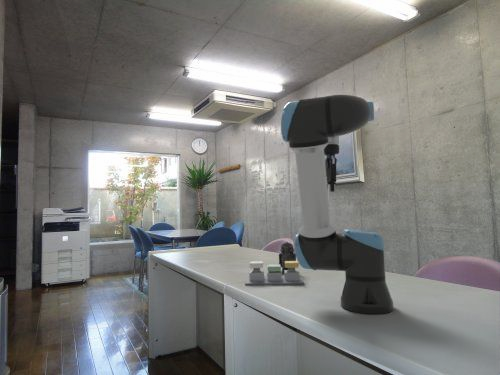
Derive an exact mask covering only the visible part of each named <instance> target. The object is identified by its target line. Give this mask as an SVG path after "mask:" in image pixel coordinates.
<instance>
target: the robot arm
mask: <svg viewBox="0 0 500 375" xmlns="http://www.w3.org/2000/svg"><path fill="white" fill-rule="evenodd" d="M374 108H375V107H374V101H367V100H365V99H364V98H362V97H360V96H356V95H349V94H332V95H325V96H320V97H313V98H304V99H298V100H294V101H290V102H287V103H286V104H285V106H284V107H283V110H282V113H281V119H280V132H281V137H282V140H283V142H285V143H288V145H289V146H288V147H289V149H290V150H291V151H293V152H294V154H295V164H296V171H297V172H296V173H297V180H298V181H297V182H298V190H299V200H300V207H301V208H300V210H301V218H302V226H301V227H300V228H299V230H298V233H296V235H295V237H294V253H295V254H296V261H298V264H299V265H300V267H301V268H303V269H306V270H313V271H317V270H318V271H335V272H336V271H337V272H338V271H339V272H345V273H344V274H345V282H344V284H343V289H342V293H341V295H340V306H341V308H342V309H345V310H346V311H350V312H353V313H359V314H367V315H370V314H371V315H380V314H381V315H382V314H387V313H391V312H392V311H394V301H393V298H392V296H391V293H390V292H391V291H390V289H389V287H388V285H387V282H386V265H385V264H386V263H385V245H384V238H383V236H382V235H381V233H378V232H374V231H367V230H363V229H362V230H360V229H352V228H350V229H349V228H345V229H343V231H342V233H337V229H336V227H335V226H334V224H332V223H331V217H330V215H331V214H330V207H329V206H330V204H329V200H331V201H332V200H337V198H336V197H337V195H336V184H337V183H336V182H337V157H336V156H337V155H339V154H340V145H339V144H340V137H341V136H344V135H348V134H351V133H354V132H356V131H358V130H359V129H362V128H364V127H365V126H366V125H367V124H368V123H369V122H373V121H374V120H375V109H374ZM325 156H326V158H325Z"/></svg>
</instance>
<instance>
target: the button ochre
mask: <svg viewBox="0 0 500 375" xmlns="http://www.w3.org/2000/svg"><path fill="white" fill-rule="evenodd" d="M299 265H300V264H299V262H298V260H296V261H285V268H288V272H295V270H296V269H298V268H299Z"/></svg>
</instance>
